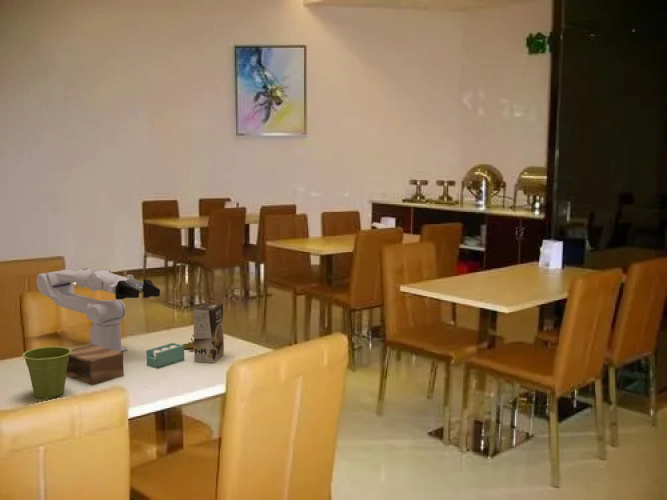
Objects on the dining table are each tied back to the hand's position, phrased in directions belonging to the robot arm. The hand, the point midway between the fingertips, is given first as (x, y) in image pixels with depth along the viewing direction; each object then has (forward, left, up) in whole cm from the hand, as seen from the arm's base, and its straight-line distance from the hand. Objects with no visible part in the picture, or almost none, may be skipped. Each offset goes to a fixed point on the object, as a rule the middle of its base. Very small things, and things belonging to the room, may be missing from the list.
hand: (148, 293), depth 215 cm
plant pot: (0, -33, -21) cm, 39 cm away
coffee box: (+10, +14, -21) cm, 27 cm away
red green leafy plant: (-2, +20, -22) cm, 29 cm away
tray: (+3, +3, -21) cm, 21 cm away
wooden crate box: (-4, -17, -21) cm, 27 cm away
